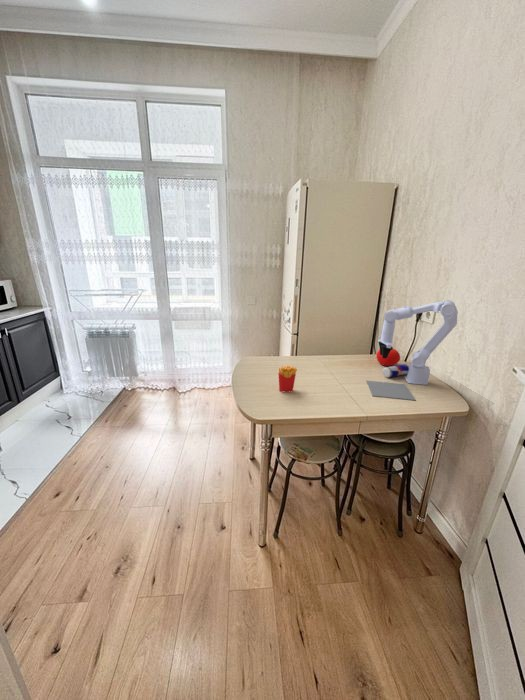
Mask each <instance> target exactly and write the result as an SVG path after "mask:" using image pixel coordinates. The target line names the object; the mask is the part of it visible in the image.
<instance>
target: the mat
mask: <svg viewBox="0 0 525 700" xmlns="http://www.w3.org/2000/svg"><path fill="white" fill-rule="evenodd" d="M366 384H367V386H368V388H369V391H370V393H371V395H372V397H377V398H383V399H384V398H386V399H396V400H406V401H414V402H416V399H415V397H414V395H413V394H412V393H411V391H410V389H409V388H408V387H407V385H406V384H404V383H397V382H396V383H394V382H389V381H387V382H385V381H376V380H375V381H374V380H366Z"/></svg>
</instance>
